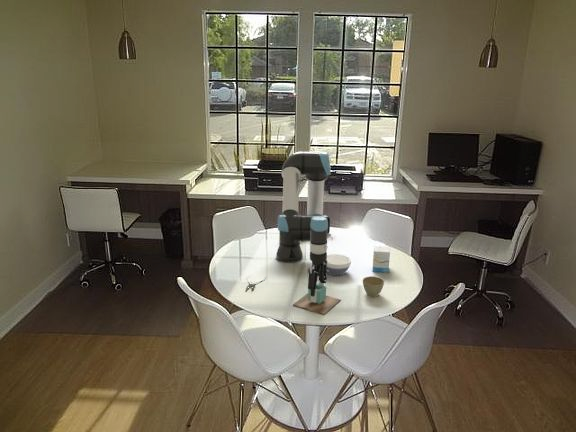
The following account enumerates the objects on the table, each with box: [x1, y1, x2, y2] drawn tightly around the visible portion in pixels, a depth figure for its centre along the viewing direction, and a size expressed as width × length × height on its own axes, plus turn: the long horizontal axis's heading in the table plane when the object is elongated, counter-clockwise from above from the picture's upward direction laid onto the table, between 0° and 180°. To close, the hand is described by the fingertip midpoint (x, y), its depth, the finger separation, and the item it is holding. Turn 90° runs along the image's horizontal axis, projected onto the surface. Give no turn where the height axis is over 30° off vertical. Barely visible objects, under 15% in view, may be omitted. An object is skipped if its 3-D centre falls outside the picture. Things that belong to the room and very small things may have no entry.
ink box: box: [372, 245, 391, 273], centre depth 242 cm, size 8×8×12 cm
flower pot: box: [362, 275, 385, 298], centre depth 213 cm, size 10×10×7 cm
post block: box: [292, 289, 342, 316], centre depth 204 cm, size 16×16×7 cm
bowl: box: [327, 253, 352, 276], centre depth 238 cm, size 14×14×8 cm
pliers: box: [245, 283, 257, 292], centre depth 225 cm, size 10×1×20 cm
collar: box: [307, 283, 327, 304], centre depth 204 cm, size 6×6×6 cm
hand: (317, 298), depth 205 cm, fingers closed on collar, 6 cm apart
